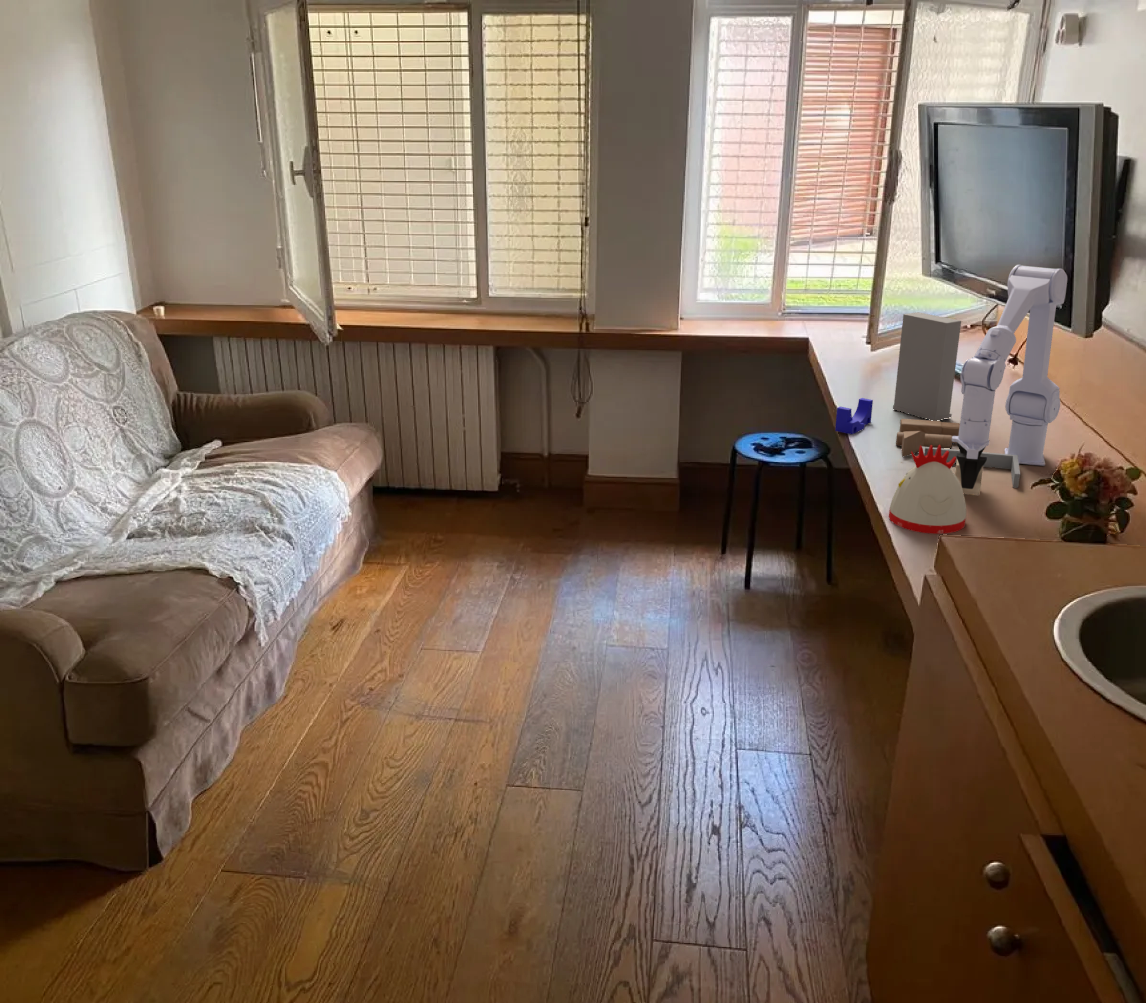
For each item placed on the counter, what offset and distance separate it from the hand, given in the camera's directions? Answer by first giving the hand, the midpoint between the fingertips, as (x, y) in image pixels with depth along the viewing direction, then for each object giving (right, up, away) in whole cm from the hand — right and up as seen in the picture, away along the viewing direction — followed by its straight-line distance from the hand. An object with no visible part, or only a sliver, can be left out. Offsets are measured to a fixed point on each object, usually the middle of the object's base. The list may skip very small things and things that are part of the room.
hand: (967, 481), depth 209 cm
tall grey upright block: (+9, +18, +53) cm, 56 cm away
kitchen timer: (-13, -8, -13) cm, 20 cm away
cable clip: (-11, +14, +43) cm, 47 cm away
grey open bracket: (+4, +2, +10) cm, 11 cm away
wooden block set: (+3, +8, +27) cm, 29 cm away
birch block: (0, -2, +1) cm, 2 cm away
